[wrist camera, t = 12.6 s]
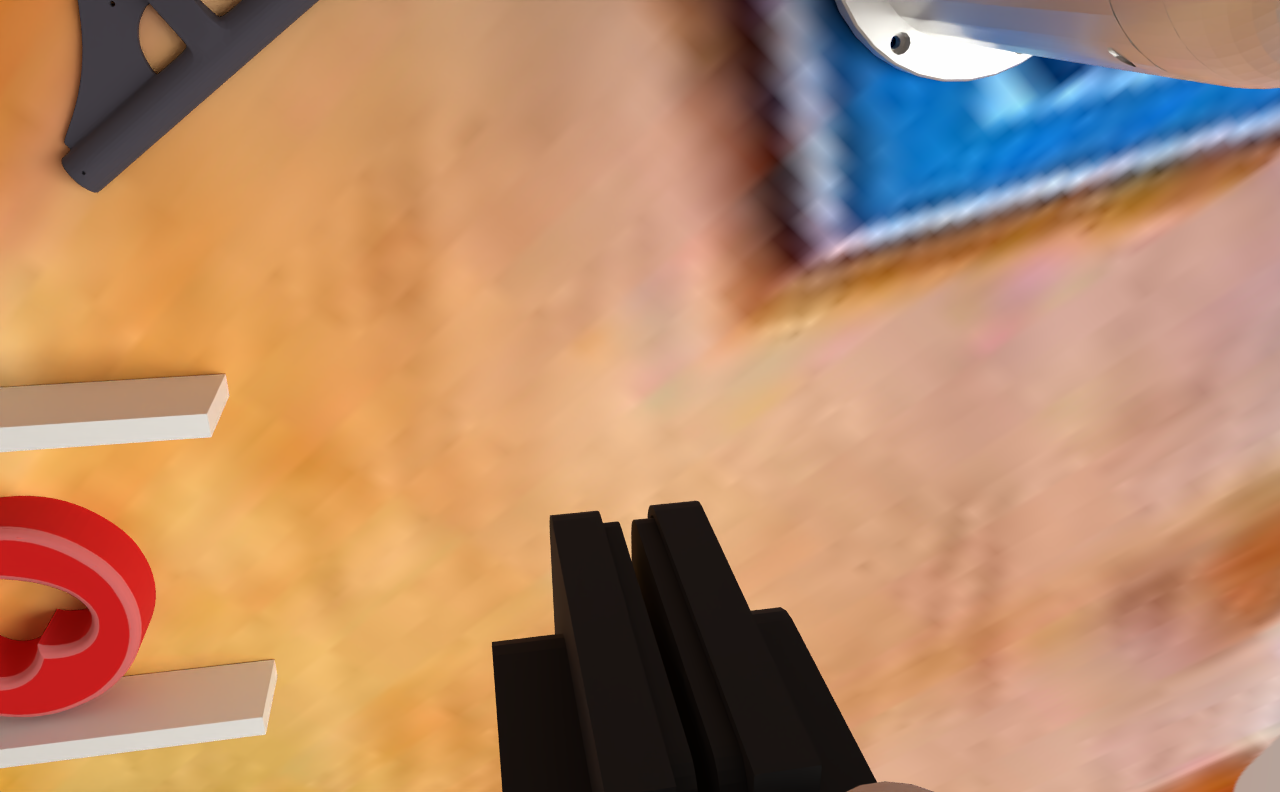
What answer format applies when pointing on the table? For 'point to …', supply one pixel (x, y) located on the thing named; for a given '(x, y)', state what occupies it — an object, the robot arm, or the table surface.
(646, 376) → the table surface
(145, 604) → the decorative ornament
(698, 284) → the table surface
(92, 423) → the rail
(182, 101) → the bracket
